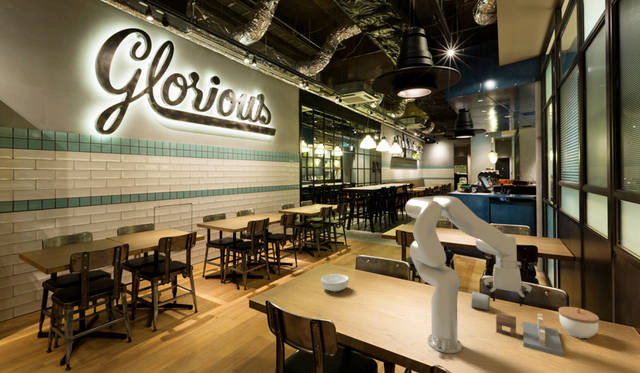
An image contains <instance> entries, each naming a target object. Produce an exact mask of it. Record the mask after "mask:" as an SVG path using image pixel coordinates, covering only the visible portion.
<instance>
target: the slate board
mask: <svg viewBox="0 0 640 373" xmlns="http://www.w3.org/2000/svg"><path fill="white" fill-rule="evenodd" d="M543 326H544V325H543ZM544 329H545V347H544V346H540V342H539V334H538V325H537V324H536V323H531V322H527V321H522V337H523V338H522V339H523V342H522V343H523V347H524V348H530V349H533V350H537V351H541V352H545V353H548V354H552V355H556V356H559V357H564V351H563V347H562V341H561V338H560V334H559V330H558V328H554V327H551V326H550V327H549V326H544Z"/></svg>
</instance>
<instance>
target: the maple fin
mask: <svg viewBox="0 0 640 373" xmlns="http://www.w3.org/2000/svg"><path fill="white" fill-rule="evenodd" d="M536 315H537V321H536V322H537V325H538V334H539V342H540V346H544V347H545V329H544V319H543V318H544V316H543V314H542V313H537V314H536Z"/></svg>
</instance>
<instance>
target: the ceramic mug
mask: <svg viewBox="0 0 640 373" xmlns="http://www.w3.org/2000/svg"><path fill="white" fill-rule="evenodd" d="M490 302H491V296H489V295H487V294H484V293H481V292H475V291H472V292H471V304H470V305H471V308H475V309H481V310H486V311H488V310H490V307H491V306H490Z"/></svg>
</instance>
